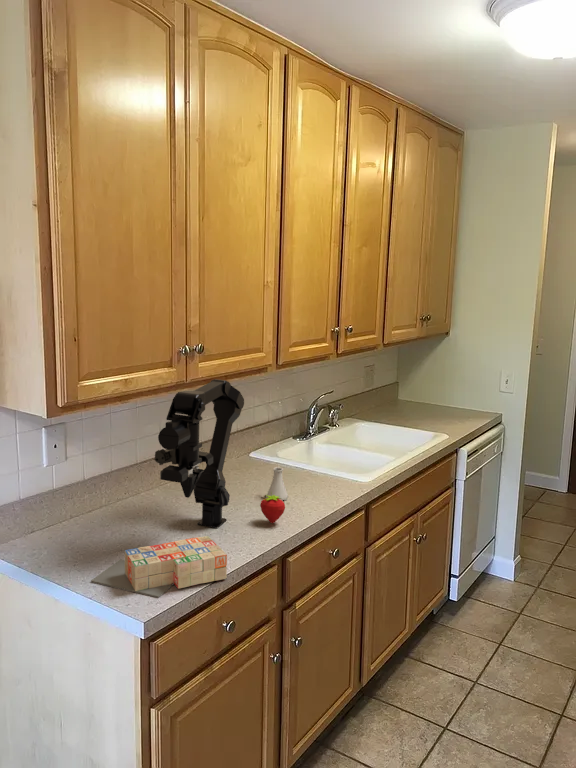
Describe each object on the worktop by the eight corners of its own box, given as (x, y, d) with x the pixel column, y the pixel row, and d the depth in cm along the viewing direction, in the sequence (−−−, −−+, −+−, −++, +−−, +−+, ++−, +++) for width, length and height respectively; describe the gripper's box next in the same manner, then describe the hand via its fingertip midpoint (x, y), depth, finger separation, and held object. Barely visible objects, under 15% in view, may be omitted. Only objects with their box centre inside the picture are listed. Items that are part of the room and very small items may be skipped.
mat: (120, 560, 162) (120, 559, 161) (184, 574, 156) (184, 573, 156) (91, 582, 150) (90, 580, 150) (158, 597, 145) (158, 596, 144)
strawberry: (279, 529, 184) (280, 496, 182) (256, 524, 187) (257, 491, 185) (287, 522, 190) (289, 490, 188) (264, 517, 192) (265, 485, 191)
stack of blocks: (124, 574, 154) (138, 597, 143) (124, 549, 153) (138, 571, 142) (208, 558, 164) (227, 579, 154) (208, 535, 163) (227, 554, 152)
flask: (281, 504, 204) (282, 473, 202) (261, 499, 207) (262, 469, 206) (292, 497, 210) (293, 468, 208) (273, 492, 214) (274, 463, 212)
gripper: (178, 428, 179) (178, 482, 182) (141, 445, 162) (141, 504, 165) (214, 433, 176) (213, 487, 178) (181, 450, 158) (180, 511, 161)
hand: (187, 497), depth 171 cm, fingers closed
